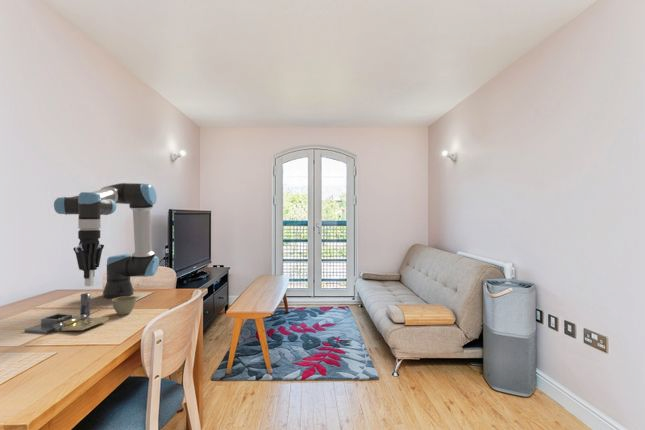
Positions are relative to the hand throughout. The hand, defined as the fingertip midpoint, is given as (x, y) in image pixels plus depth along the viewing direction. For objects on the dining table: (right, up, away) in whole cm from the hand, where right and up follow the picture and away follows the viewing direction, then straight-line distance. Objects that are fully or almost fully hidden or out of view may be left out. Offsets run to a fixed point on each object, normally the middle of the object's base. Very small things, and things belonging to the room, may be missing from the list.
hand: (89, 285), depth 135 cm
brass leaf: (-3, -17, 0) cm, 17 cm away
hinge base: (-13, -17, +2) cm, 22 cm away
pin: (-12, -17, +15) cm, 26 cm away
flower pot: (+3, -18, +19) cm, 26 cm away
